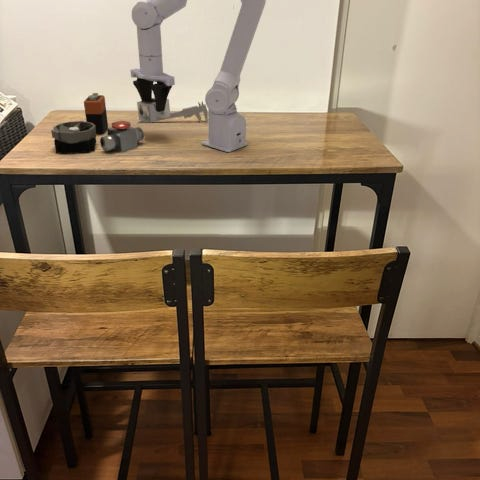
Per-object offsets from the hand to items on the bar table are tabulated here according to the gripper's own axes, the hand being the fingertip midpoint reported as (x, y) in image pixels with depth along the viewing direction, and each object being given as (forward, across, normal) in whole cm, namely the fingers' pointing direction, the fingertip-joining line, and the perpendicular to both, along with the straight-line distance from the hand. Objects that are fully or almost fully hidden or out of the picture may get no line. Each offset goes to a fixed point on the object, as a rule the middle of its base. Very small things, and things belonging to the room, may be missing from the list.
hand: (154, 109), depth 128 cm
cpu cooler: (+8, -9, -19) cm, 22 cm away
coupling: (+2, 0, 0) cm, 2 cm away
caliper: (+8, -7, +13) cm, 17 cm away
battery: (+8, -16, -7) cm, 19 cm away
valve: (+8, 0, -11) cm, 13 cm away
